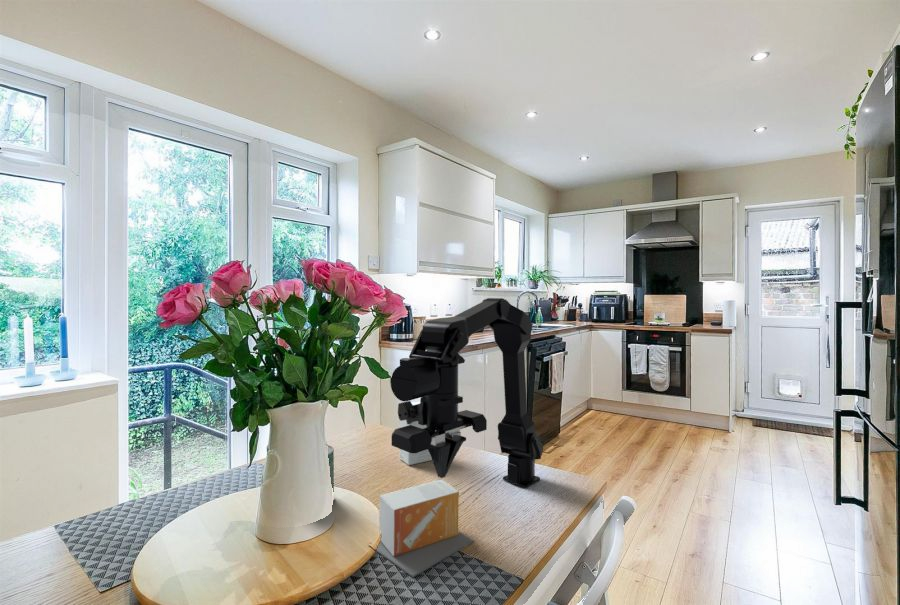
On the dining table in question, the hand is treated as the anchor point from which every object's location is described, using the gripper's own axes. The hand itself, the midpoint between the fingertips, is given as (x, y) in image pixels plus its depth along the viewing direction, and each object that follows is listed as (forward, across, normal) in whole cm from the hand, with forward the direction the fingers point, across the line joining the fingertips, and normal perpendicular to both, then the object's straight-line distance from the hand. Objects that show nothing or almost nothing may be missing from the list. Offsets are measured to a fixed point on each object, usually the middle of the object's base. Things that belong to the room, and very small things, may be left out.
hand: (441, 476), depth 78 cm
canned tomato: (+11, +10, -28) cm, 32 cm away
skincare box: (+11, -21, -31) cm, 39 cm away
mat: (+11, +4, -1) cm, 12 cm away
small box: (+7, -3, -1) cm, 7 cm away
